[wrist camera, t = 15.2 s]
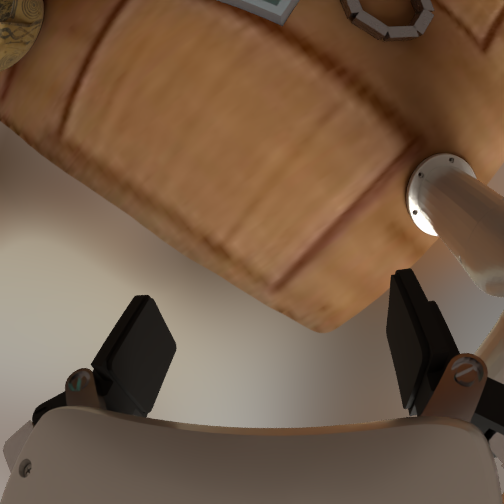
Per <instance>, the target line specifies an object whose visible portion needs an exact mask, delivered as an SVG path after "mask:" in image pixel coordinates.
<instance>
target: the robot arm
mask: <svg viewBox="0 0 504 504" xmlns="http://www.w3.org/2000/svg"><path fill="white" fill-rule="evenodd" d="M449 159H450V160H449ZM419 173H420V174H419ZM418 174H419V175H418ZM406 204H407V209H408V212H409V214H410V217H411V219H412V220H413V222H414V223H415V224H416V225H417V227H418V228H419V229H421V230H422V231H423V232H425V233H427V234H429V235H433V236H439V237H440V238H441V239H442V241H443V242H444V243H445V244H446V246H447V247H448V248H449V249H450V251H451V252H452V253H453V255H454V256H455V257H456V258H457V260H458V261H459V263H460V264H461V265H462V267H463V268H464V269H465V271H466V272H467V273H468V275H469V276H470V278H471V279H472V280H473V282H474V283H475V284H476V285H477V287H478V288H480V289H481V290H482V291H483V292H485V293H487V294H489V295H491V296H497V297H504V197H503V196H501V195H500V194H498V193H497V192H495V191H494V190H492V189H491V188H489V187H488V186H486V185H485V184H483V183H482V182H480V181H479V180H477V179H476V175H475V173H474V171H473V169H472V168H471V167H470V165H469V164H468V163H467V162H466V161H465V160H463V159H462V158H460V157H458V156H456V155H453V154H449V153H439V154H435V155H432V156H430V157H428V158H427V159H425V160H424V161H423V162H421V163H420V164H419V165H418V167H417V168H416V169H415V171H414V172H413V174H412V176H411V178H410V180H409V183H408V186H407V193H406ZM413 210H414V211H413ZM386 333H387V339H388V343H389V347H390V350H391V355H392V359H393V363H394V367H395V371H396V375H397V380H398V385H399V389H400V394H401V399H402V404H403V408H404V409H407V408H408V410H409V415H410V416H412V415H417V417H406V418H398V419H390V420H381V421H375V422H367V423H357V424H348V425H335V426H323V427H306V428H238V427H221V426H208V425H197V424H188V423H179V422H172V421H164V420H158V419H151V418H146V417H147V414H148V413H149V412H151V410H152V408H153V406H154V403H155V400H156V398H157V396H158V393H159V391H160V388H161V386H162V383H163V381H164V378H165V376H166V373H167V371H168V369H169V366H170V363H171V361H172V359H173V356H174V354H175V352H176V343H175V341H174V339H173V337H172V335H171V333H170V331H169V329H168V327H167V325H166V323H165V321H164V319H163V317H162V315H161V313H160V311H159V309H158V307H157V305H156V303H155V301H154V299H152V298H151V297H150V296H149V295H137V296H135V297H134V298H133V299H132V301H131V302H130V304H129V305H128V307H127V309H126V310H125V311H124V313H123V314H122V316H121V317H120V319H119V320H118V322H117V323H116V325H115V327H114V328H113V330H112V331H111V333H110V334H109V336H108V337H107V339H106V341H105V342H104V344H103V345H102V347H101V349H100V350H99V352H98V353H97V355H96V357H95V358H94V360H93V362H92V363H91V365H92V367H93V368H94V370H93V372H92V371H91V370H90V369H87V368H81V369H79V370H77V371H75V372H73V373H72V374H71V375H70V376H69V378H68V379H67V381H66V384H65V392H63V393H61V394H59V395H57V396H56V397H54V398H52V399H50V400H48V401H46V402H44V403H42V404H41V405H39V406H38V407H37V408H36V409H35V411H34V413H33V417H32V421H33V422H32V421H31V420H30V421H28V422H27V423H26V424H25V425H24V426H23V427H21V428H20V429H19V430H18V431H17V432H16V433H15V434H14V435H12V436H11V437H10V438H9V439H8V440H7V441H6V442H5V445H4V449H3V452H4V456H5V459H6V461H7V464H8V467H9V469H10V471H11V475H10V478H9V480H8V482H7V485H6V488H5V490H4V493H3V496H2V499H1V502H0V504H504V493H503V494H502V495H501V488H500V482H499V476H498V472H497V468H496V464H495V460H494V458H495V457H498V458H499V459H500V461H501V462H502V463H503V464H502V465H501V466H502V467H503V468H504V310H503V312H502V313H501V315H500V317H499V320H498V321H497V323H496V324H495V326H494V327H493V328H492V330H491V331H490V333H489V334H488V336H487V337H486V338H485V340H484V341H483V343H482V344H481V345H480V347H479V348H478V349H477V351H476V352H475V353H474V354H469V353H463V354H460V353H459V351H458V348H457V346H456V344H455V342H454V339H453V337H452V335H451V333H450V331H449V328H448V326H447V324H446V322H445V320H444V318H443V316H442V314H441V312H440V310H439V308H438V305H437V304H436V302H435V301H428V300H427V298H426V296H425V294H424V292H423V290H422V288H421V286H420V284H419V282H418V280H417V278H416V276H415V274H414V272H413V271H412V269H410V268H409V269H402V270H397V271H396V273H395V275H391V282H390V296H389V308H388V317H387V326H386Z"/></svg>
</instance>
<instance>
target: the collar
mask: <svg viewBox="0 0 504 504" xmlns="http://www.w3.org/2000/svg"><path fill="white" fill-rule="evenodd" d="M340 1H341V4H342V6H343V9H344V11H345V14H346V16H347V19H349V18H354V19H353V21H352V22H351V23H352V24H354V25H355V26H357V27H359V28H360V29H362V30H364V31H365V32H367V33H368V34H370V35H371V36H373V37H374V38H376V39H377V40H379V39H381V38H383V41H399V40H412V39H414V38H417V37H419V36H420V35H423V33H424V32H425V30H426V28H427V27H428V25H429V23H430V22H431V20H432V18H433V17H434V15H433V14H432V13H431V12H433V11H434V8H433V6H432V3H431V1H430V0H411V2H412V5H413V8H414V10H415V13H416V14H415V16H414V17H413V19H412V20H411V22H410V24H409V25H408V26H394V27H388V26H387V25H385V24H384V23H382V22H381V21H379V20H377V19H376V18H374V17H373V16H371V15H370V14H368V13H366V12H365V11H363V10H362V7H361V5H360V2H359V0H340Z"/></svg>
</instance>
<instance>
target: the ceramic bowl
mask: <svg viewBox="0 0 504 504" xmlns="http://www.w3.org/2000/svg"><path fill="white" fill-rule="evenodd" d="M43 17H44V3H43V0H0V71H2V70H4V69H7V68H9V67H10V66H12V65H13V64H15V63H16V62H18V61H19V60H20V59H21V58H22V57H23V56H24V55H25V54H26V53H27V52H28V51H29V50H30V48H31V47H32V45H33V44H34V42H35V40H36V38H37V36H38V34H39V31H40V29H41V26H42V22H43Z"/></svg>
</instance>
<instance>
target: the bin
mask: <svg viewBox="0 0 504 504" xmlns="http://www.w3.org/2000/svg"><path fill="white" fill-rule="evenodd" d="M217 1H221V2H224V3H227V4H229V5H232V6H235V7H238V8H241V9H243V10H246V11H248V12H251V13H254V14H256V15H259V16H261V17H263V18H266V19H268V20H270V21H273V22H275V23H277V24H279V25H282V26H283V25H284V23H285V21H286V20H287V18H288V17H289V15H290V14H291V12H292V11H293V9H294V8H295V6H296V5H297V3H298V2H299V0H217Z"/></svg>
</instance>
